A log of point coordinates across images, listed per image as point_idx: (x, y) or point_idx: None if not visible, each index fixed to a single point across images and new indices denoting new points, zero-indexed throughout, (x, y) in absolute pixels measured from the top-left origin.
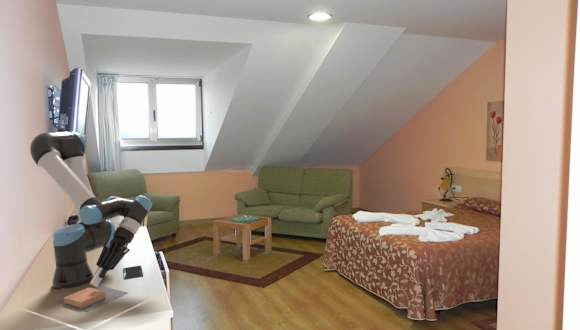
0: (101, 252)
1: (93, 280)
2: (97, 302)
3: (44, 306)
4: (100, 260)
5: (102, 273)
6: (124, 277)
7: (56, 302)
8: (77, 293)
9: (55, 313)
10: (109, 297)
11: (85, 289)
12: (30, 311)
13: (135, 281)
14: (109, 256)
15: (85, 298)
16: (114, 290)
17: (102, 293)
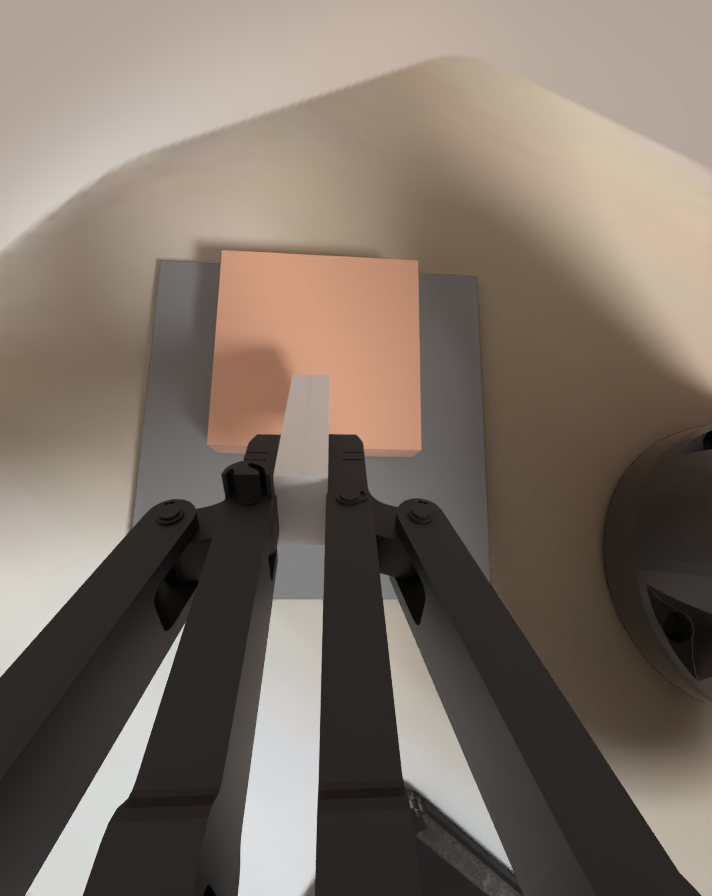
0: (563, 707)
1: (301, 390)
2: None
3: (499, 237)
4: (419, 565)
5: (244, 457)
6: (445, 834)
7: (470, 277)
8: (389, 338)
9: (348, 205)
10: (203, 470)
11: (404, 411)
12: (503, 171)
13: (298, 829)
14: (238, 661)
15: (249, 302)
16: (276, 578)
17: (209, 417)
